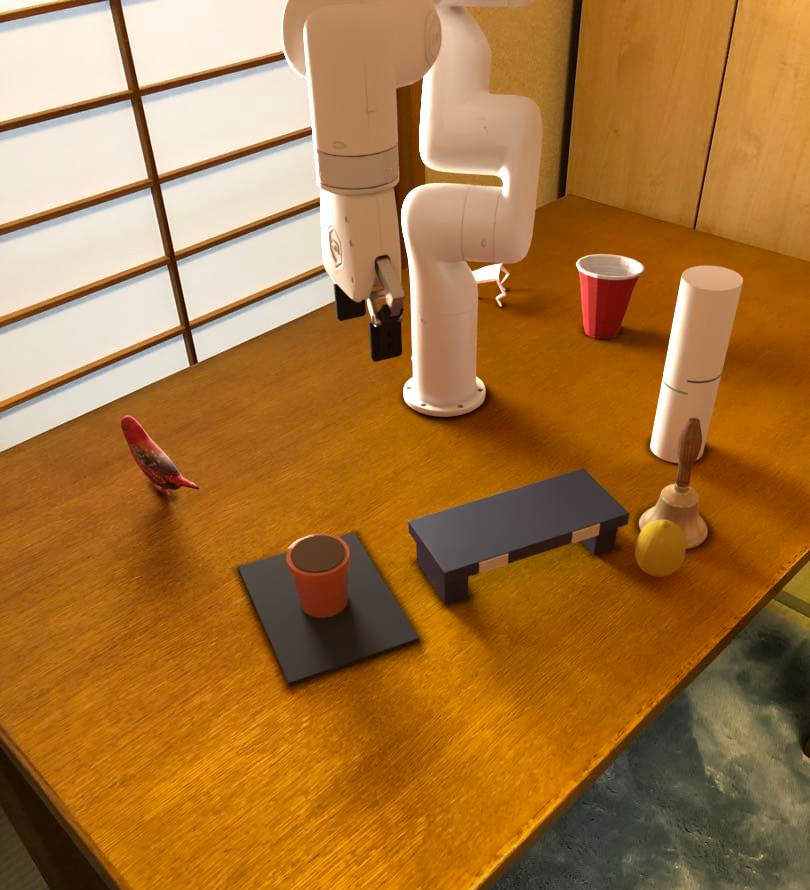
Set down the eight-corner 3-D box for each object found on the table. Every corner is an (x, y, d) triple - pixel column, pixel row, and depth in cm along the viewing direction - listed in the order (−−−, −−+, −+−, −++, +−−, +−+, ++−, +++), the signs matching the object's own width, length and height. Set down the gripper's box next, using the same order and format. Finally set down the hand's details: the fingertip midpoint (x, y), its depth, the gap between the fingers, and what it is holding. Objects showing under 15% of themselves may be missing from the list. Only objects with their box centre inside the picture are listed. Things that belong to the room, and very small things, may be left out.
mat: (238, 570, 106) (237, 566, 106) (354, 535, 110) (353, 531, 110) (289, 686, 92) (288, 683, 92) (419, 641, 96) (419, 638, 96)
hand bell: (668, 558, 105) (693, 448, 95) (625, 520, 111) (643, 412, 100) (721, 536, 108) (751, 427, 98) (676, 500, 114) (699, 393, 103)
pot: (285, 590, 102) (277, 543, 97) (341, 573, 104) (336, 525, 99) (304, 630, 97) (297, 582, 92) (363, 611, 99) (359, 563, 94)
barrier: (409, 558, 107) (407, 520, 103) (578, 505, 113) (583, 467, 110) (445, 612, 99) (445, 574, 96) (624, 552, 106) (631, 513, 102)
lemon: (669, 596, 100) (682, 544, 95) (623, 580, 103) (633, 527, 97) (685, 568, 104) (698, 516, 99) (640, 553, 106) (650, 501, 101)
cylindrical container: (704, 465, 119) (745, 292, 103) (650, 460, 120) (682, 288, 104) (701, 436, 124) (740, 267, 108) (650, 432, 126) (680, 264, 109)
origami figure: (499, 315, 155) (500, 289, 151) (455, 307, 157) (455, 281, 154) (522, 288, 163) (524, 262, 159) (480, 281, 166) (481, 255, 162)
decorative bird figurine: (144, 466, 123) (127, 405, 116) (217, 521, 113) (203, 458, 107) (126, 475, 122) (108, 414, 115) (198, 532, 112) (183, 468, 105)
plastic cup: (644, 325, 150) (654, 257, 142) (619, 351, 143) (629, 282, 136) (585, 311, 155) (592, 244, 147) (559, 336, 148) (565, 268, 140)
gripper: (288, 145, 84) (307, 310, 95) (352, 202, 72) (365, 384, 83) (361, 133, 86) (370, 296, 98) (435, 187, 74) (436, 366, 85)
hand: (368, 336), depth 90 cm, fingers open, 9 cm apart
